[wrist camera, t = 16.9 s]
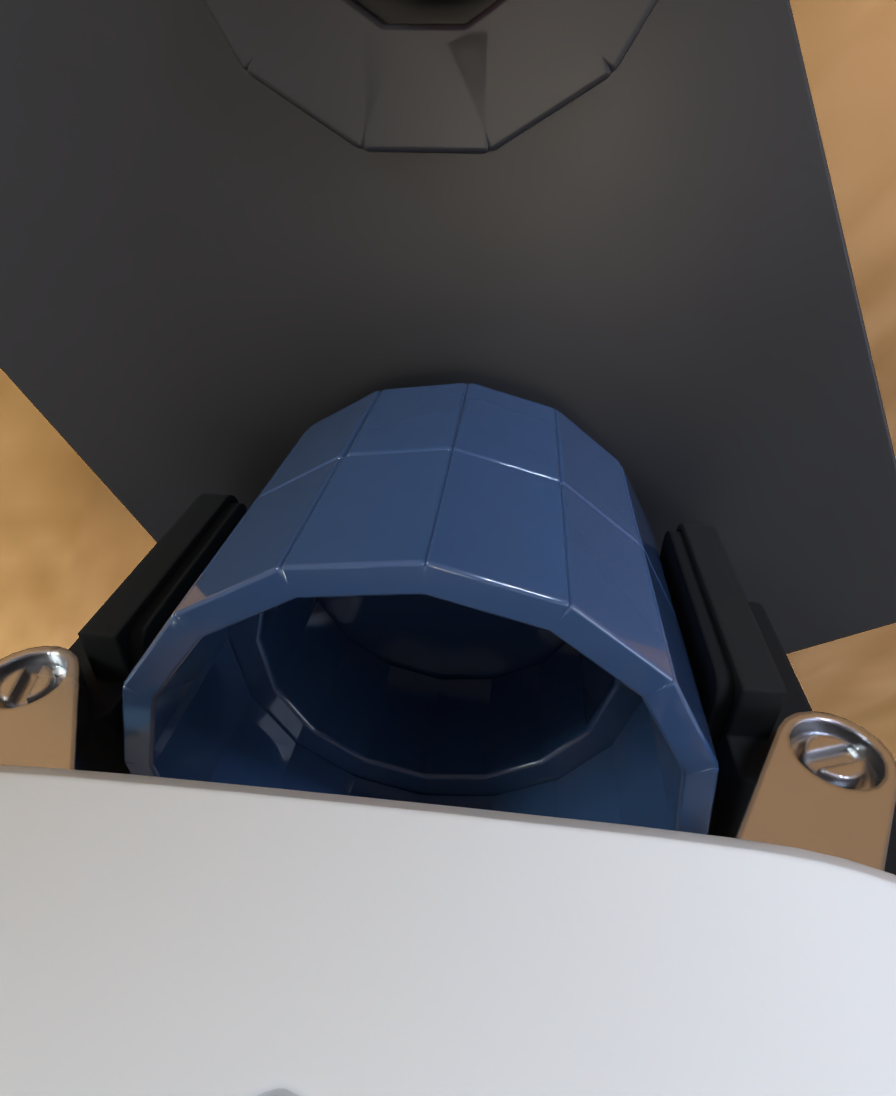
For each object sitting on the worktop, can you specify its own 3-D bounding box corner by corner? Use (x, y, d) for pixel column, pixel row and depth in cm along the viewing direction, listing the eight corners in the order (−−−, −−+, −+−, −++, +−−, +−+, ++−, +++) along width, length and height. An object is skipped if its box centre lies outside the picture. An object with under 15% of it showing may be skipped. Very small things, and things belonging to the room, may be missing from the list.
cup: (698, 625, 13) (788, 906, 8) (395, 720, 16) (337, 978, 11) (545, 290, 10) (556, 442, 5) (197, 476, 12) (-3, 693, 8)
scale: (886, 556, 14) (980, 673, 11) (379, 718, 18) (349, 831, 16) (578, -632, 7) (613, -1203, 4) (-125, 112, 11) (-353, 110, 8)
